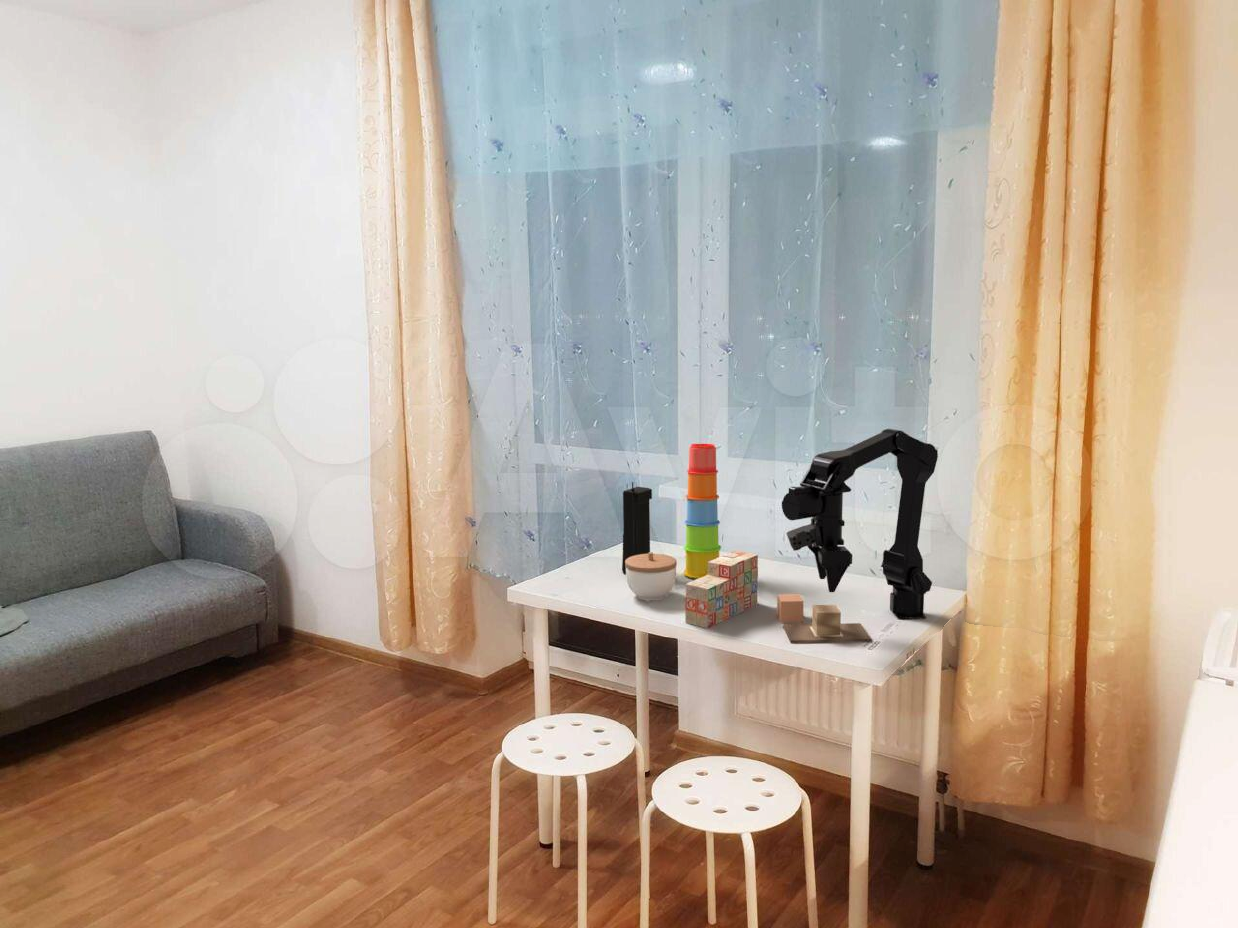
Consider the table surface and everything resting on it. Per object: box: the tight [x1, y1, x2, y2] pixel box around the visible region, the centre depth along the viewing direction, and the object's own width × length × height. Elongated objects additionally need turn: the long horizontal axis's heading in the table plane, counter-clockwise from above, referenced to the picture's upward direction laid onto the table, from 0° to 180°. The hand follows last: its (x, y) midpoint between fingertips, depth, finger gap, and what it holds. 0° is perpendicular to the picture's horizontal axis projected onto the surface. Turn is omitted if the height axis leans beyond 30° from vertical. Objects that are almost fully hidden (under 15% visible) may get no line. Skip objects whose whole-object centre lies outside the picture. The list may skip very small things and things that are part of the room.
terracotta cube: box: [776, 593, 804, 624], centre depth 207 cm, size 5×5×5 cm
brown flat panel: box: [782, 622, 873, 644], centre depth 197 cm, size 17×10×1 cm, turn 89°
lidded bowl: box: [625, 551, 678, 602], centre depth 224 cm, size 13×13×11 cm
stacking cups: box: [683, 443, 722, 580], centre depth 238 cm, size 10×10×35 cm
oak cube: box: [811, 604, 842, 635], centre depth 197 cm, size 5×5×5 cm
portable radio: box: [621, 481, 653, 575], centre depth 243 cm, size 8×6×25 cm
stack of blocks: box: [684, 550, 759, 629], centre depth 211 cm, size 21×6×12 cm, turn 141°
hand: (826, 585), depth 195 cm, fingers open, 9 cm apart
